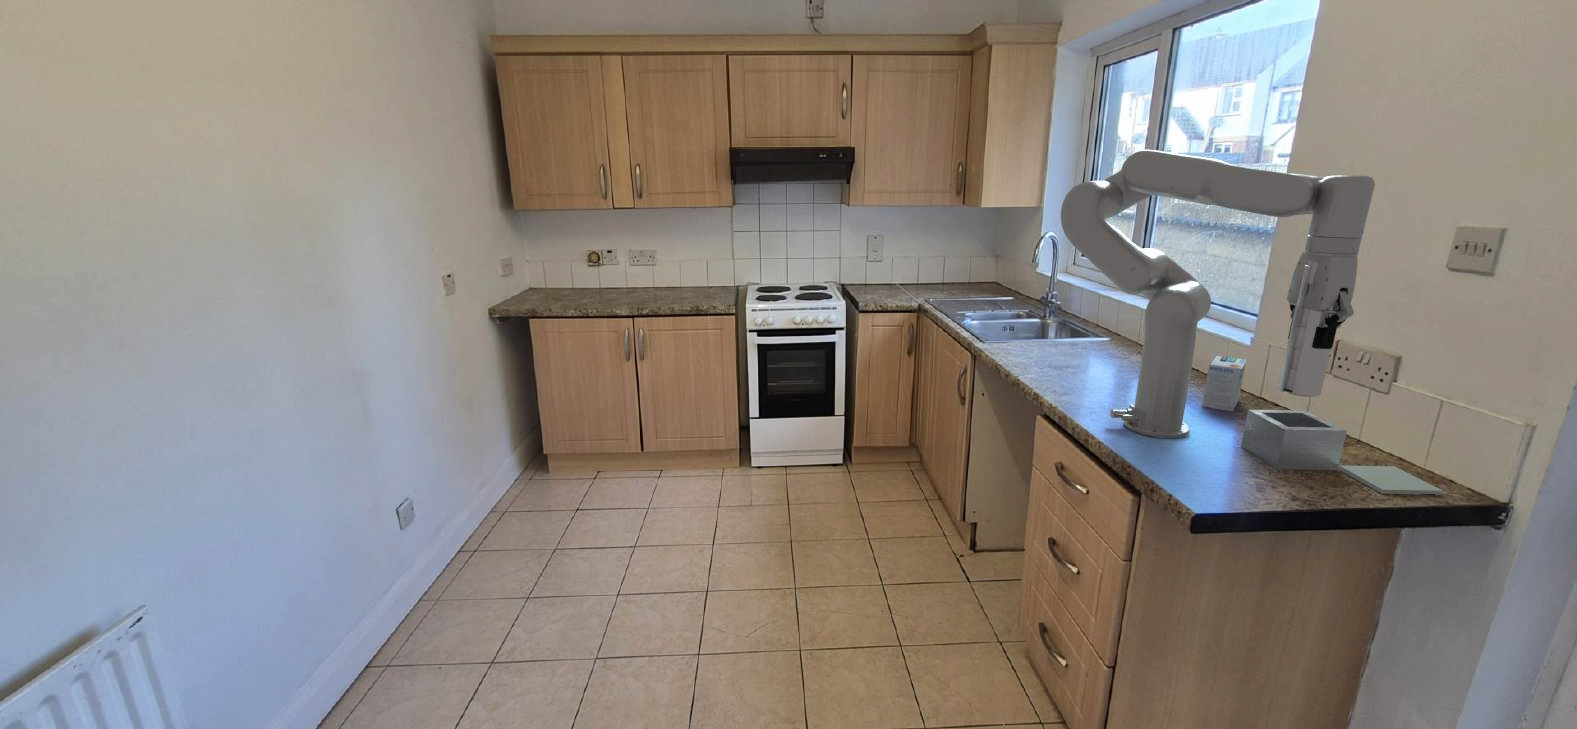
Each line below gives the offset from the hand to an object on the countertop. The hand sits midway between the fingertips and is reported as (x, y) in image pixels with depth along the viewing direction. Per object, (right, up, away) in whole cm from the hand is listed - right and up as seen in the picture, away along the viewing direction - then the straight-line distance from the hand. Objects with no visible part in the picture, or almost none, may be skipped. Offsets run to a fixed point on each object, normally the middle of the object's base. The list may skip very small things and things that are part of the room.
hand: (1309, 343), depth 122 cm
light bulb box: (+8, -14, +38) cm, 41 cm away
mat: (+11, -25, -4) cm, 28 cm away
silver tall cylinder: (0, -9, +3) cm, 10 cm away
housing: (+1, -22, +6) cm, 23 cm away
